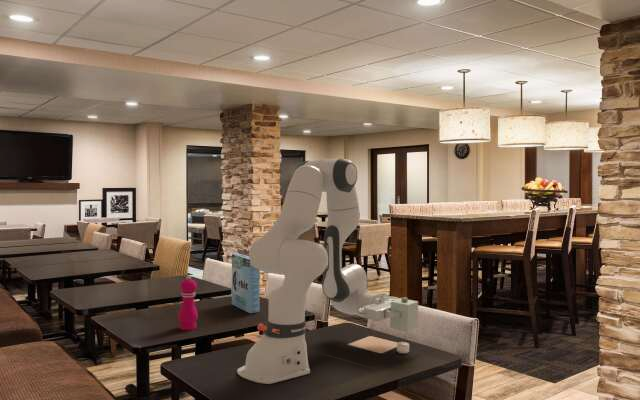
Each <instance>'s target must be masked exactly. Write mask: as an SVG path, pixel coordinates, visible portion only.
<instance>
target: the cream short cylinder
mask: <svg viewBox="0 0 640 400" xmlns="http://www.w3.org/2000/svg"><path fill="white" fill-rule="evenodd" d="M396 352H397V353H399V354H408V353H409V352H410V343H409V342H405V341H399V342H397V347H396Z"/></svg>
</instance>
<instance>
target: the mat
mask: <svg viewBox="0 0 640 400" xmlns="http://www.w3.org/2000/svg"><path fill="white" fill-rule="evenodd" d="M397 343H398V342H397V341H392V340H388V339H384V338H380V337H375V336H373V335H369V336H366V337H364V338H363V337H362V338H361V339H358V340H355V341H353V342H350V343H347V345H348V346H351V347H355V348H359V349H364V350H365V351H371V352H374V353H376V354H377V353H378V354H384V353H386V352H388V351H390V350H393V349H395V348H396V349H397Z"/></svg>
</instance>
